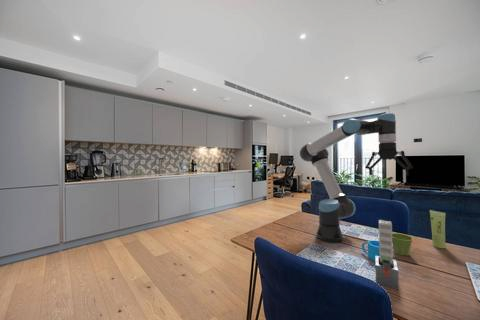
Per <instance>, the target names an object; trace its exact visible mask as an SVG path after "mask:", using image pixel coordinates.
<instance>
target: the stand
mask: <svg viewBox="0 0 480 320" xmlns="http://www.w3.org/2000/svg"><path fill="white" fill-rule="evenodd" d="M375 258H376V261H375V284H378V285H382V286H385V287H389V288H393V289H394V290H395V289H396V290H399V289H400V288H399V287H400V286H399V282H400V281H399V277H400V276H399V268H398V264H397V262H398V261H397V259H393V266H391V264H390V263H388V262H383V264H380V256H375Z"/></svg>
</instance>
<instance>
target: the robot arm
mask: <svg viewBox="0 0 480 320" xmlns="http://www.w3.org/2000/svg"><path fill="white" fill-rule="evenodd" d="M396 122H397V120H396V115H395V114H394V113H393V112H391V113H389V112H388V113H382V114H379V115H378V116H377V119H372V120H363V119H362V120H361V119H356V118H347V119H346V120H344V122H343V123H342V125H341V126H339V127H337V128H335V129H333V130H332V131H330V132H328V133H327V134H325V135H323V136H321V137H320V138H318V139H316V140H315V141H313V142H308V143H307V144H305V145H303V146H302V147H301V149H300V150H299V157H300V159H301V160H303V161H305V162H311V165H312V166H313V167H315V168H316V170H317V172H318V175H319V177H320V179H321V181H322V183H323V185H324V189H325V190H326V193H327V194H328V196H329V198H326V199H322V200H320V201H319V202H318V223H319V224H318V227H317V230H316V238H317V239H318V240H320V241H322V242H327V243H333V244H334V243H336V244H337V243H342V242H343V241H344V234H343V232H342V230H341V226H340V220H343V219H347V218H351V217H352V216H353V215H354V214H356V209H357V208H356V204H355V203H354V201H353V200H351V199H350V198H348V196H347V194H345V193H343V191H342V189H341V187H340V185H339V183H338V181H337V180H336V177H335V175H334V173H333V171H332V169H331V167H330V165H329V151H328V148H329V147H332V146H333V145H335V144H337V143H339V142H341V141H343V140H345V139H347V138H349V137H351V136H353V135H355V134H356V135H358V136H361V135H363V136H365V135H371V134H372V135H373V134H378V151H377V152H376V151H372V152H371V156H370V158H369V160H368V162H367V164H366V165H365V169H367V170H368V172H369V176H371V182H374V181H375V180H374V179H375V178H374V175H375V174H374V167H375V166H376V165H377V164H378V163H379V162H380V161H381V160H384V161H387V160H388V161H389V160H394V161H396V163H397V164H398V165H400V166H401V167H402V168H403V169H402V178H403V179H402V181H403V183H406V182H407V177H408V176H409V171H410V170H411V169H413V168H414V166H413V165H412V163H411V162H410V160H409V159H408V157H407V156H406V155H405V154H406V153H405V151H404V150H401V151H397V132H396V131H397V127H396V126H397V125H396ZM377 155H378V156H379V157H378V159H377V160H375V162H374V163H373V164H372V165H371V163H372V161H373V160H374V158H375V157H376V156H377ZM397 155H399V156H401V158H402V159H403V161H404V162H405V163H406V164H405V163H403V162H402V161H401V160H400V159H399V158H397ZM370 165H371V166H370ZM406 165H407V166H406Z"/></svg>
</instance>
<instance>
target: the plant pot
mask: <svg viewBox="0 0 480 320" xmlns="http://www.w3.org/2000/svg"><path fill="white" fill-rule="evenodd" d="M413 240H414V238H413V236H410V235H408V234H404V233H397V232H395V233H393V232H392V249H393V252H394V253H395V254H397V255H400V256H407V257H408V256H410V253H411V252H410V251H411V246H412V242H413Z"/></svg>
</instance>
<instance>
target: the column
mask: <svg viewBox="0 0 480 320" xmlns="http://www.w3.org/2000/svg"><path fill="white" fill-rule="evenodd" d="M392 233H393V223H392V221H391V220H389V221H388V220H383V219H378V241H379V252H380V264H383V262H388V263H390V264H391V266H393V260H394V259H393V258H394V257H393V256H394V255H393V252H394V248H393V243H392Z"/></svg>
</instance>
